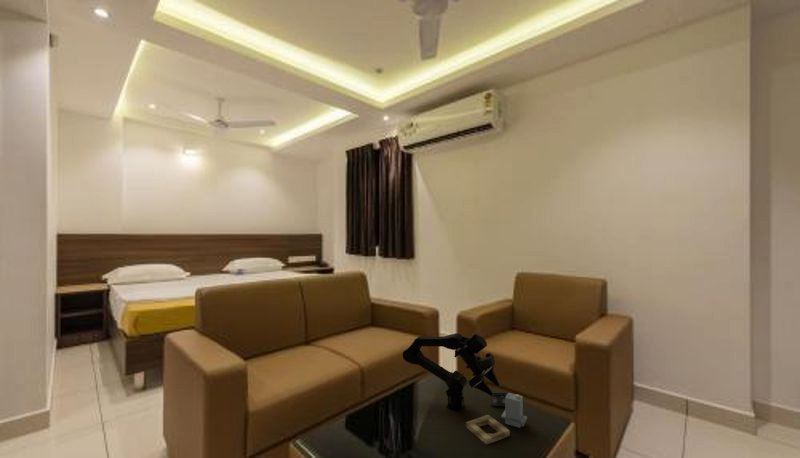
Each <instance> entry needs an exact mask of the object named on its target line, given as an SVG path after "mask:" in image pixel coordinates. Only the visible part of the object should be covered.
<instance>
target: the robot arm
mask: <svg viewBox="0 0 800 458" xmlns="http://www.w3.org/2000/svg"><path fill="white" fill-rule="evenodd" d="M487 343H488V342H487V341H486V340H485V338H484V337H483V336H482V335H479V334H478V333H474V334H473V335H472V336H471V338H470V337H466V336H463V335H462V334H461V333H457V332H456V333H451V334H447V335H445V336H439V335H438V336H423V335H422V336H421V335H419V336H418V337H416V338H415V339H414V341H413V342H412V343H411V345H410V346H409V347H408V348H406V349H405V350H403V351H402V359H403V360H404V361H405V362H406V363H409V364H411V365H416V366H420V367H421V368H422V369H424V370H426V371H427V372H428V373H430V374H432V375H434V377H437V378H438V379H440V380H441V381H443V382H444V383H445V384H446V386H447V387H448V388H446V390H445V394H446V396H447V404H446V405H445V407H446V408H447V409H451V410H454V411H456V412H460V411H461V410H462V409H463V408H464V406H465V397H464V393H463V392H464V390H465V389H466V388H467V386H468V385H469V386H470V388H471V389H472V388H474V389H477V390H480V391H481V392H483V393H485V394H487V395H489V396H490V395H491V396H492V395H493V393H492V392H493V391H492V390H491V388H490V387H489V385H488V384H487V383H486V379H487V380H489V381H490V382H491V383H493V384H494V385H495V386H497V387H499V386H500V383H499V380H498V379H497V376H496V374H495V364H496V361H495V360H494V359H495V356H494V355H493V354H492V353H491V352H487V353H486V354H485V356H484V357H481V356H479V355H478V354H479V353H480V352H481V351H482V350H484V349H485V348H486V347H487V346H488V344H487ZM423 347H441V348H442V347H443V348H446V349H447V350H452V351H454V358H457V357H458V356H459V357H460V358H461V359H462V361H463V363H465V365H466V366H465V368H466V369H468V370H469V369H470V371H471V372H472V377H471V378H470V379H469V380H467V377H465V376H464V374H463V373H460V372H459V371H458V370H454V371H453V372H451V371H449V370H447V369H446V368H444V367H443V366H441V365H440V364H438V363H436V362H434V361H433V360H431V359H430V358H428V357H426V356H425V355H424V353H423V352H422V351H421V349H422V348H423ZM476 354H477V355H478V356H477V355H476Z"/></svg>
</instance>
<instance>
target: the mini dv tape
mask: <svg viewBox="0 0 800 458" xmlns="http://www.w3.org/2000/svg"><path fill="white" fill-rule="evenodd" d="M492 393H493V395H492V396H491V395H489V405H490V406H492V407H493V406H495V407H505V397H506V395H507V394H508V393H509V391H492Z"/></svg>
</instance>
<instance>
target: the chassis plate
mask: <svg viewBox="0 0 800 458" xmlns="http://www.w3.org/2000/svg"><path fill="white" fill-rule="evenodd" d="M486 425H488V426H489V427H491V428H492V429H493V430H495V431H496V432H494V433H491V432H489V433H486V431H485V430H483V429H482V428H481V427H484V426H486ZM465 427H466V428H467V429H468V430H469V431H470V432H471V433H472V434H473V435H475V436H476V437H477V439H479V440H480V441H481V442H483V443H484V444H485V445H490V444H492V443H495V442H497V441H500V440H502V439H505V438H507V437H510V435H511V432H510V429H509V428H507V427H506V426H504V424H502V423H500V422H499V421H498V420H496V419H495V418H494V417H492V416H490V414H486V415H483V416H481V417H476V418H474V419H471V420H469V421H466V422H465Z"/></svg>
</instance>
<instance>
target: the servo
mask: <svg viewBox="0 0 800 458" xmlns="http://www.w3.org/2000/svg"><path fill="white" fill-rule="evenodd" d="M523 399H524V396H523V395H521V394H515V393H510V392H508V394H507V395H506V397H505V406H504V407H505V408H504V411H502V414H501V416H500V417H501V419H504V420H505V421H504V422H505V424H506V425H509V426H512V427H516V428H519V429H521V427H523V428H524V427H525V424H526V421H527V419H528V416H526V415H524V407H523V405H524V403H523V402H524V401H523Z"/></svg>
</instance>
